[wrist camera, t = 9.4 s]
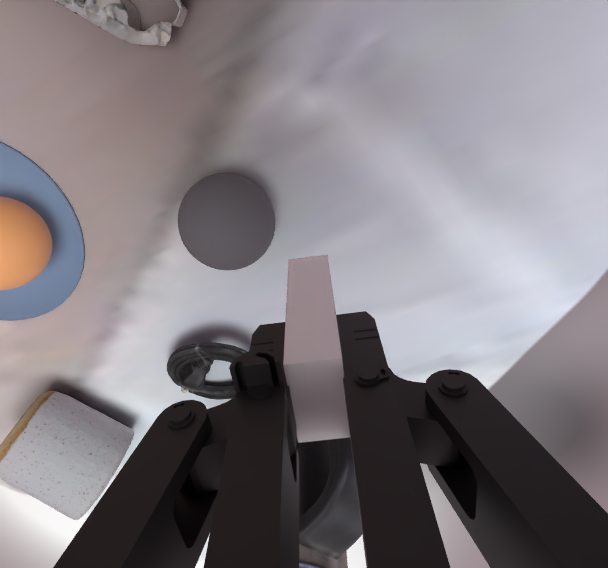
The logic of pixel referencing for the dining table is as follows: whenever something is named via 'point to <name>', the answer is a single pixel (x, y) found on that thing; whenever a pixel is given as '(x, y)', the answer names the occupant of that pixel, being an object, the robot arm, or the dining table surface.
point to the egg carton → (125, 20)
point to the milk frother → (312, 467)
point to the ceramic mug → (63, 453)
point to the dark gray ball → (226, 221)
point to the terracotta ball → (22, 244)
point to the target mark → (64, 231)
